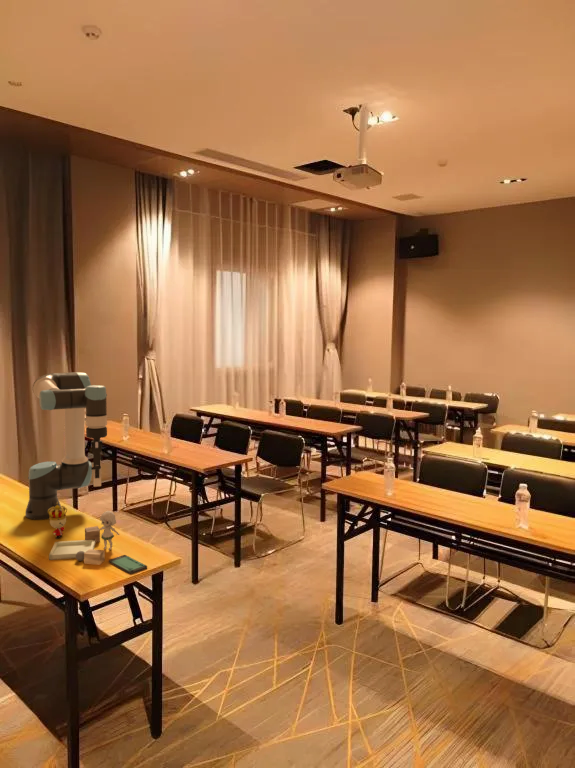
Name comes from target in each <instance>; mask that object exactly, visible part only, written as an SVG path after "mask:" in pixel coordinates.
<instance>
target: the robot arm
mask: <svg viewBox="0 0 575 768" xmlns="http://www.w3.org/2000/svg"><path fill="white" fill-rule="evenodd" d="M32 393H33V395H34V396H35V397H36V398H37V399H39V407H40V409H41V410H42V411H54V410H64V457H63V458H61V463H60V464H57V462H56V461H42V462H39V463H36V464H33V465H32V466H30V467H29V468H28V469H29V470H28V478H27V479H28V492H29V493H28V494H29V495H28V496H29V497H28V502H27V504H26V508H25V518H27V519H30V520H34V521H35V520H38V521H39V520H48V519H49V513H48V509H50V508H51V507H53V506H54V507H55V506H56V505H57V504H58V505H59V506H60V507H61V506H62V505H61V503H60V500H59V497H58V491H63V490H64V491H65V490H71V489H81V488H84V487H85V488H86V487H88V486H89V485H90V483H91V482H92V477H93V487H94V488H97V487H102V460H103V456H102V455H101V454H102V453H103V450H102V447H103V440H101V438H102V439H103V438H106V437H108V436H107V435H108V427H107V425H108V414H107V412H108V411H107V410H108V409H107V403H108V402H107V398H108V397H107V396H108V394H107V387H106V386H105V385H101V384H100V385H99V384H98V385H97V384H96V385H95V384H93V385H92V383H91V380H90V377H89V375H88V373H86V372H80V371H76V372H73V371H72V372H52V373H47V374H44V375H41V376H40V377H38V378H36V379H35V381H34V382H33V384H32ZM85 421H86V422H85ZM85 425H86V426H85ZM85 427H86V428H85ZM85 434H86V435H85ZM85 436H86V437H87V438H88V439H93V440H91V443H90V444H91V454H93V464H92V462H91V461H90V460H89V458H88V457H87V456H86V453H85V451H86V449H85V446H86V445H85V442H86V441H85ZM57 502H59V503H57ZM61 508H62V507H61ZM61 508H60V509H61ZM53 509H54V508H53ZM49 511H50V510H49ZM60 511H61V510H60ZM53 512H55V510H54V511H53ZM49 520H50V519H49Z"/></svg>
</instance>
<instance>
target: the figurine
mask: <svg viewBox="0 0 575 768" xmlns="http://www.w3.org/2000/svg"><path fill="white" fill-rule="evenodd" d="M99 520H100V521H101V523H100V525H103V526H101V528H99V530H98V532H99V531H100V532H101V531H103V532H102V534H101V535H100V539H102V540H103V544H104V547H103V550H106V549H107V545H108V543H109V548H108V550H109V551H110V550H112V549H113V548H112V547H113V541H112V539H113V538H114V537H115V535H114V533H116V535H118V536H120V533H119V532H117V530H116V528H114V527H113V526H115V525H116V524H117V519H116V514H115V513H114V511H112V510H106V511H103V512H102V514H101V515H100V517H99ZM113 532H114V533H113Z"/></svg>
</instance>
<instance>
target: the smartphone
mask: <svg viewBox="0 0 575 768" xmlns="http://www.w3.org/2000/svg"><path fill="white" fill-rule="evenodd" d="M108 563H109V564H111V565H113V566H114V567H116V568H118V569H120V570H122V571H123V572H125V573H127V574H129V575H134V574H136V573H139V572H141V571H144V570H147V569H148V565H146V564H144V563H143V562H140V561H139V560H137V559H134V558H132V557H130V556H129V555H126V554H123V555H120V556H115V557H114V558H110V559H108Z"/></svg>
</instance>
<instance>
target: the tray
mask: <svg viewBox="0 0 575 768" xmlns="http://www.w3.org/2000/svg"><path fill="white" fill-rule="evenodd" d="M95 546H96V543H95V539H94V540H85V539H80V540H64V541H62V540H61V541H55V542H54V544H53V545H52V548H51V550H50V552H49V554H48V560H49V561H51V560H55V561H56V560H68V559H76V554H77V553H78V552H79V551H83V552H86V551H87V550H89V549H95Z"/></svg>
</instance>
